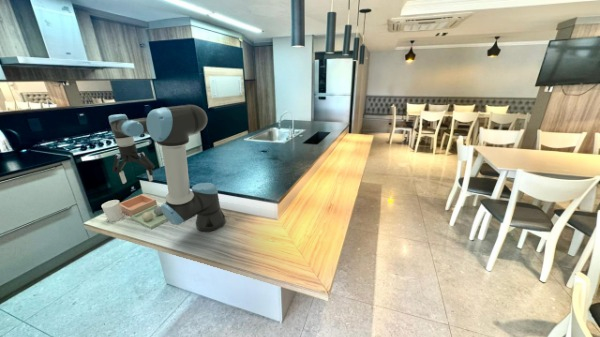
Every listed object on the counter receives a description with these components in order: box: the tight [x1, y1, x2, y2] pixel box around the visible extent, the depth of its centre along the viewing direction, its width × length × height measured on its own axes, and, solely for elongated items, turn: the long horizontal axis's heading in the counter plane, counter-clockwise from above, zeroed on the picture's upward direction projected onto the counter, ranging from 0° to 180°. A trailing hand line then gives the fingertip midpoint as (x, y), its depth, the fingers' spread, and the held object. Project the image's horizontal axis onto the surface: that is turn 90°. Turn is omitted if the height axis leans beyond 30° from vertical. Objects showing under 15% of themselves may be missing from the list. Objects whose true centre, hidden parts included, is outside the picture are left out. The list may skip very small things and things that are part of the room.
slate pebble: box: [154, 205, 163, 215], centre depth 132 cm, size 5×5×5 cm
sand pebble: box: [142, 212, 153, 221], centre depth 127 cm, size 5×5×5 cm
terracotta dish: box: [120, 193, 158, 217], centre depth 139 cm, size 15×14×5 cm
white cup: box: [101, 199, 124, 222], centre depth 129 cm, size 8×8×10 cm
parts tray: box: [130, 204, 169, 230], centre depth 131 cm, size 20×15×2 cm
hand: (138, 181), depth 127 cm, fingers open, 13 cm apart
